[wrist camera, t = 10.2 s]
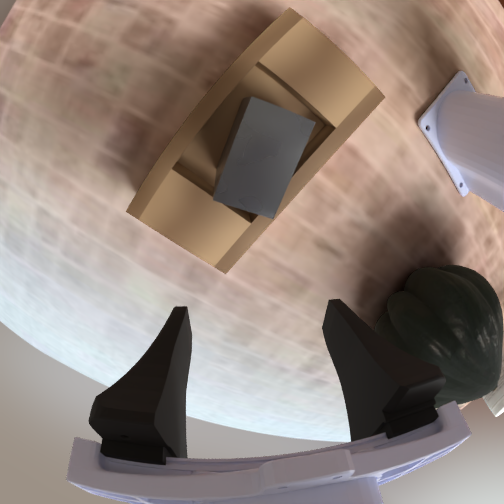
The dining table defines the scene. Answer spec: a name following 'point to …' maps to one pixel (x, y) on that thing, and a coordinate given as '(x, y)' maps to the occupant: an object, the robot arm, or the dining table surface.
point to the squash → (449, 329)
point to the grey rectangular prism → (260, 156)
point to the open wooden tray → (220, 123)
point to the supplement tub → (497, 392)
